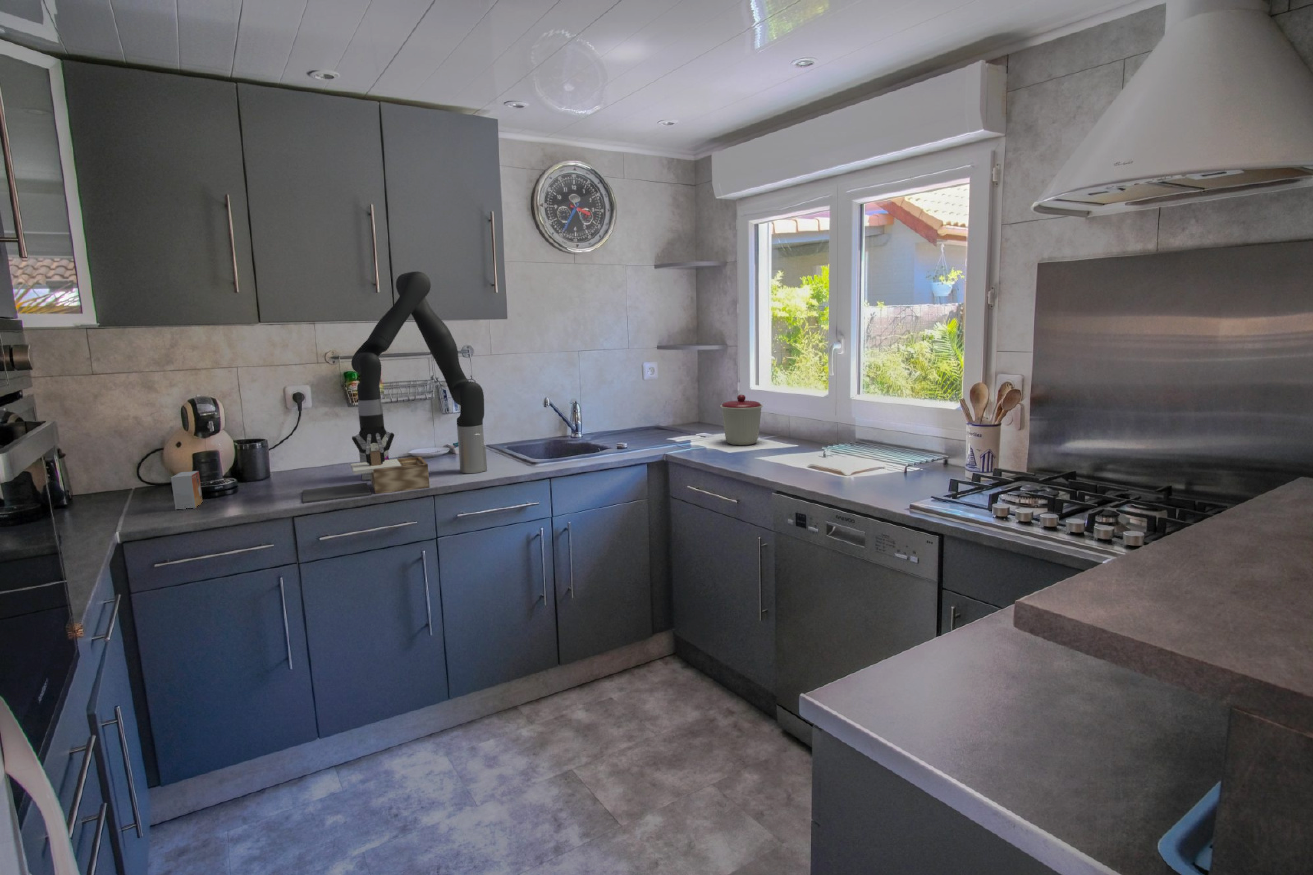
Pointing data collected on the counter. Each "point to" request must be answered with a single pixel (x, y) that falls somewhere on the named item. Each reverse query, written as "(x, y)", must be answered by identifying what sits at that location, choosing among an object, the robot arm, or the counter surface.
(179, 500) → the small box
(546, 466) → the counter surface
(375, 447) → the candy bar box
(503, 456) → the counter surface
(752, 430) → the canister
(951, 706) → the counter surface
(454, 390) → the robot arm
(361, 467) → the cover plate
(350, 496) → the rubber mat
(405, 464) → the wooden box
